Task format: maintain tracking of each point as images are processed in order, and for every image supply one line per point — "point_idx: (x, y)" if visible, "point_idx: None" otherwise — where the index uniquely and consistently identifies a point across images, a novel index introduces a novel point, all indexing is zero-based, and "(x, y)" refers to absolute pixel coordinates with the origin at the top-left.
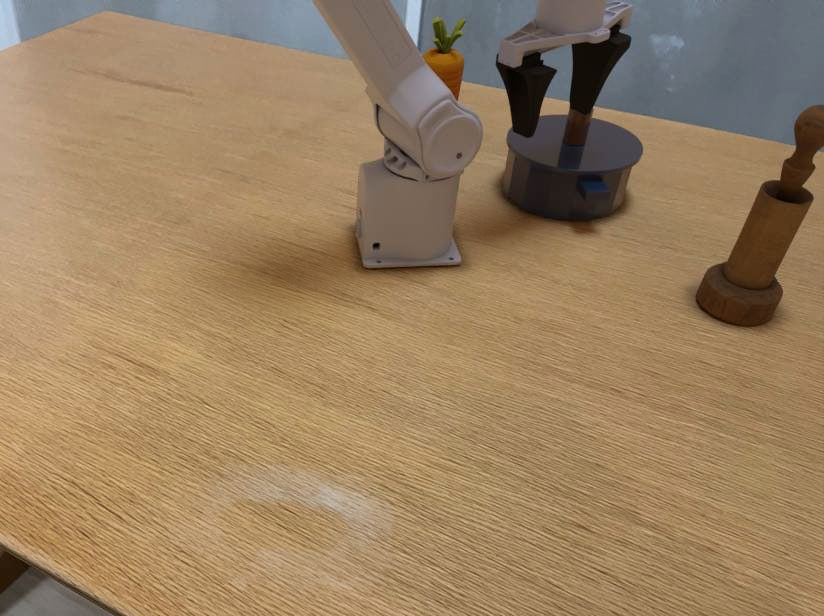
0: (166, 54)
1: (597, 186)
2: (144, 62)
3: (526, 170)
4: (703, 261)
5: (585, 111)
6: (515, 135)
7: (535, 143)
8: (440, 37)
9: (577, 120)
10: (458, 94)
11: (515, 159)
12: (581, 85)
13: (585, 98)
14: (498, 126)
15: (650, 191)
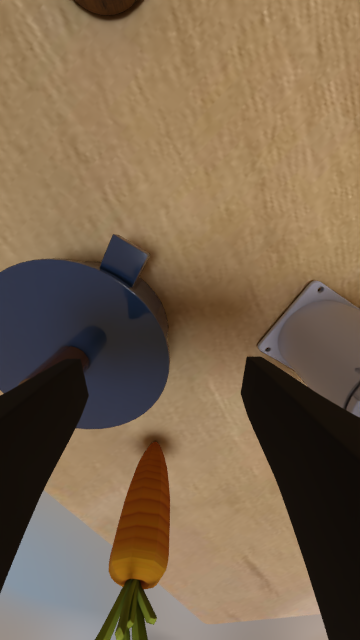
0: (215, 589)
1: (120, 259)
2: (235, 588)
3: None
4: (56, 86)
5: (77, 365)
6: (134, 408)
7: (127, 382)
8: (139, 621)
9: None
10: (128, 496)
11: None
12: (49, 434)
13: (62, 393)
14: (72, 440)
15: None
